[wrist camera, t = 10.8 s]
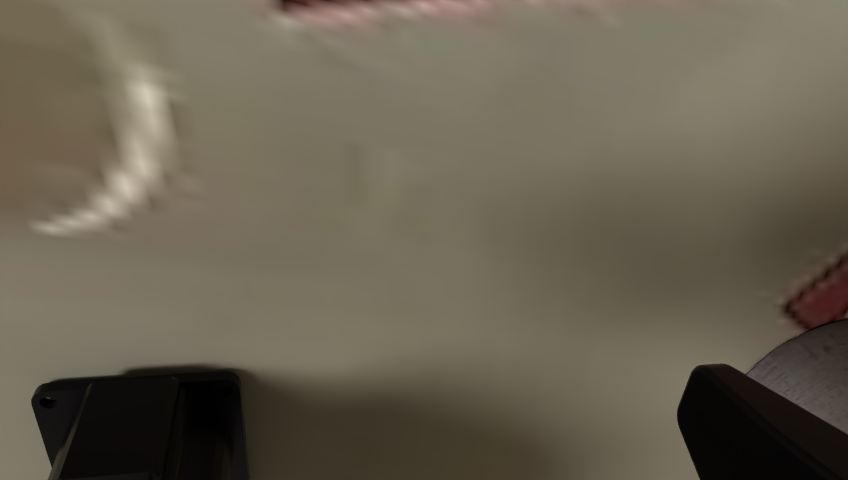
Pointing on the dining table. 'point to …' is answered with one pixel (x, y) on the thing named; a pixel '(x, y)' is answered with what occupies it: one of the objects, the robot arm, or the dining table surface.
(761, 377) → the pillar candle
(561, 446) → the dining table surface
